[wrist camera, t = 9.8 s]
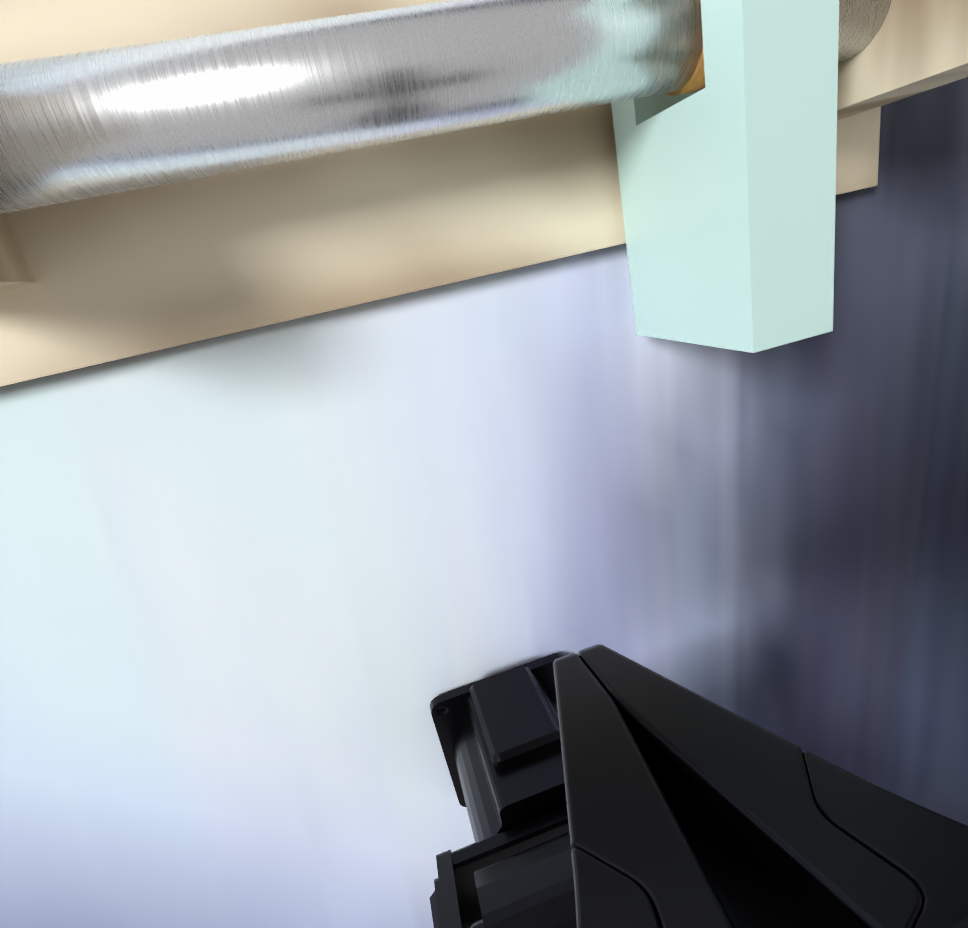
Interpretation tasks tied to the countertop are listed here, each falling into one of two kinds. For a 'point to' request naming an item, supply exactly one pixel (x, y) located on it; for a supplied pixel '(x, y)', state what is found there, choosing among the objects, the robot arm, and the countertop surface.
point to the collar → (737, 182)
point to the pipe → (338, 87)
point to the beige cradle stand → (348, 196)
